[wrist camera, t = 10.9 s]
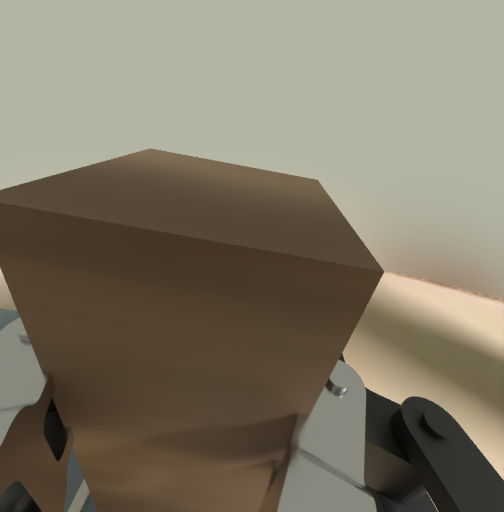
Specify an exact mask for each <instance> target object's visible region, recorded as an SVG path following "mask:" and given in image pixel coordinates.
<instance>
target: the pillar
mask: <svg viewBox="0 0 504 512" xmlns="http://www.w3.org/2000/svg"><path fill="white" fill-rule="evenodd" d="M0 268H1V270H2V273H3V275H4V278H5V280H6V283H7V285H8V288H9V290H10V293H11V295H12V298H13V300H14V303H15V305H16V308H17V310H18V313H19V315H20V318H21V320H22V323H23V325H24V328H25V330H26V333H27V335H28V338H29V340H30V343H31V345H32V348H33V350H34V353H35V355H36V358H37V360H38V363H39V365H40V368H41V371H45V372H50V373H51V375H52V378H53V381H54V383H55V386H56V388H55V391H54V393H53V396H52V398H53V401H54V403H55V406H56V408H57V411H58V413H59V416H60V418H61V421H62V423H63V426H65V427H71V429H72V432H73V434H74V437H75V438H74V442H73V446H72V448H73V451H74V453H75V456H76V458H77V461H78V463H79V466H80V468H81V471H82V473H83V476H84V479H85V481H86V484H87V486H88V489H89V491H90V494H91V496H92V499H93V501H94V504H95V506H96V509H97V511H98V512H258V511H259V509H260V506H261V503H262V501H263V498H264V494H265V491H266V488H267V485H268V481H269V478H270V475H271V472H272V468H273V466H274V464H275V462H276V460H281V461H283V458H284V455H285V452H286V449H287V445H288V441H289V438H290V434H291V431H292V427H293V424H294V422H295V420H296V418H297V416H298V414H299V413H303V414H311V412H312V410H313V408H314V406H315V404H316V402H317V400H318V398H319V396H320V394H321V393H322V391H323V389H324V387H325V385H326V383H327V381H328V379H329V377H330V375H331V373H332V371H333V369H334V368H335V366H336V364H337V362H338V360H339V358H340V356H341V354H342V352H343V350H344V348H345V346H346V344H347V342H348V341H349V339H350V337H351V335H352V333H353V331H354V329H355V327H356V325H357V323H358V321H359V319H360V317H361V315H362V314H363V312H364V310H365V308H366V306H367V304H368V302H369V300H370V298H371V296H372V294H373V292H374V290H375V289H376V287H377V285H378V283H379V281H380V279H381V277H382V275H383V273H384V271H383V269H382V268H381V267H380V265H379V264H378V262H377V261H376V260H375V258H374V257H373V256H372V254H371V253H370V251H369V250H368V249H367V247H366V246H365V245H364V243H363V242H362V240H361V239H360V238H359V236H358V235H357V234H356V232H355V231H354V229H353V228H352V227H351V226H350V224H349V223H348V221H347V220H346V218H345V217H344V216H343V215H342V213H341V212H340V210H339V209H338V207H337V206H336V205H335V203H334V202H333V201H332V199H331V198H330V196H329V195H328V194H327V193H326V191H325V190H324V188H323V187H322V186H321V184H320V183H319V181H318V180H314V179H309V178H304V177H298V176H293V175H288V174H282V173H277V172H272V171H266V170H261V169H256V168H251V167H246V166H240V165H235V164H230V163H224V162H219V161H214V160H208V159H203V158H198V157H192V156H187V155H182V154H176V153H171V152H166V151H161V150H155V149H147V150H143V151H140V152H136V153H132V154H129V155H125V156H122V157H118V158H114V159H111V160H107V161H104V162H100V163H96V164H93V165H89V166H86V167H82V168H78V169H75V170H71V171H68V172H64V173H60V174H56V175H53V176H49V177H46V178H42V179H39V180H35V181H31V182H28V183H24V184H20V185H17V186H13V187H10V188H6V189H2V190H0Z"/></svg>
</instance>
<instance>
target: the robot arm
mask: <svg viewBox="0 0 504 512" xmlns="http://www.w3.org/2000/svg"><path fill="white" fill-rule="evenodd" d="M55 388H56V386H55V383H54V381H53V378H52V375H51V373H50V372H45V371H41V368H40V365H39V363H38V360H37V358H36V355H35V353H34V350H33V348H32V345H31V343H30V340H29V338H28V335H27V333H26V330H25V328H24V325H23V323H22V320H21V318H18V319H16V320H14V321H13V322H11V323H9V324H8V325H7V326H5V327H4V328H3V329H2V330H1V331H0V512H63V509H64V504H65V498H66V489H67V467H68V461H69V457H70V454H71V450H72V446H73V442H74V438H75V437H74V434H73V432H72V429H71V427H65V426H63V423H62V421H61V418H60V416H59V413H58V411H57V408H56V406H55V403H54V401H53V398H52V396H53V393H54V391H55ZM427 492H428V494H429V495H428V494H427ZM429 496H430V497H431V499H432V501H433V502H432V501H431V499H430V497H429ZM433 503H434V504H435V506H436V507H435V506H434V504H433ZM436 508H437V509H438V511H439V512H504V480H503V479H502V478H501V477H500V475H499V474H498V473H497V471H496V470H495V469H494V468H493V466H492V465H491V464H490V463H489V461H488V460H487V459H486V458H485V456H484V455H483V454H482V453H481V451H480V450H479V449H478V448H477V446H476V445H475V444H474V443H473V441H472V440H471V439H470V438H469V436H468V435H467V434H466V433H465V431H464V430H463V429H462V428H461V426H460V425H459V424H458V423H457V421H456V420H455V419H454V418H453V417H452V416H451V415H450V414H449V413H448V412H446V411H445V410H444V409H443V408H441V407H440V406H439V405H437V404H435V403H434V402H432V401H430V400H428V399H425V398H422V397H409V398H407V399H406V400H405V401H404V402H403V403H402V404H401V405H400V404H398V403H395V402H393V401H391V400H389V399H387V398H385V397H383V396H380V395H378V394H376V393H374V392H372V391H370V390H369V389H367V388H366V387H365V386H364V383H363V381H362V379H361V378H360V376H359V375H358V374H357V372H356V371H355V370H354V369H353V368H351V367H350V366H349V365H347V364H346V363H345V361H344V357H343V354H341V356H340V358H339V360H338V362H337V364H336V366H335V368H334V369H333V371H332V373H331V375H330V377H329V379H328V381H327V383H326V385H325V387H324V389H323V391H322V393H321V394H320V396H319V398H318V400H317V402H316V404H315V406H314V408H313V410H312V412H311V414H303V413H299V414H298V416H297V418H296V420H295V422H294V424H293V427H292V431H291V434H290V438H289V441H288V445H287V449H286V452H285V455H284V458H283V461H281V460H276V462H275V464H274V466H273V468H272V472H271V475H270V478H269V481H268V485H267V488H266V491H265V494H264V498H263V501H262V503H261V506H260V509H259V511H258V512H438V511H437V509H436Z"/></svg>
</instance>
